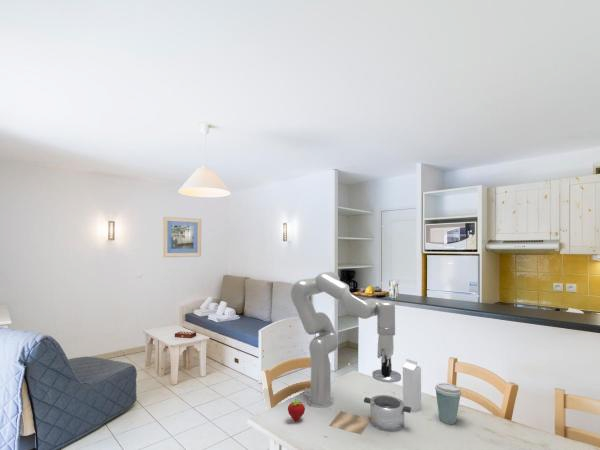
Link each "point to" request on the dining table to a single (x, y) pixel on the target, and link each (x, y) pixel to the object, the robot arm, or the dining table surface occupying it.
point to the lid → (392, 376)
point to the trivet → (350, 422)
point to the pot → (387, 412)
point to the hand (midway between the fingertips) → (386, 373)
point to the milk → (412, 385)
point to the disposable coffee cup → (448, 401)
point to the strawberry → (296, 410)
